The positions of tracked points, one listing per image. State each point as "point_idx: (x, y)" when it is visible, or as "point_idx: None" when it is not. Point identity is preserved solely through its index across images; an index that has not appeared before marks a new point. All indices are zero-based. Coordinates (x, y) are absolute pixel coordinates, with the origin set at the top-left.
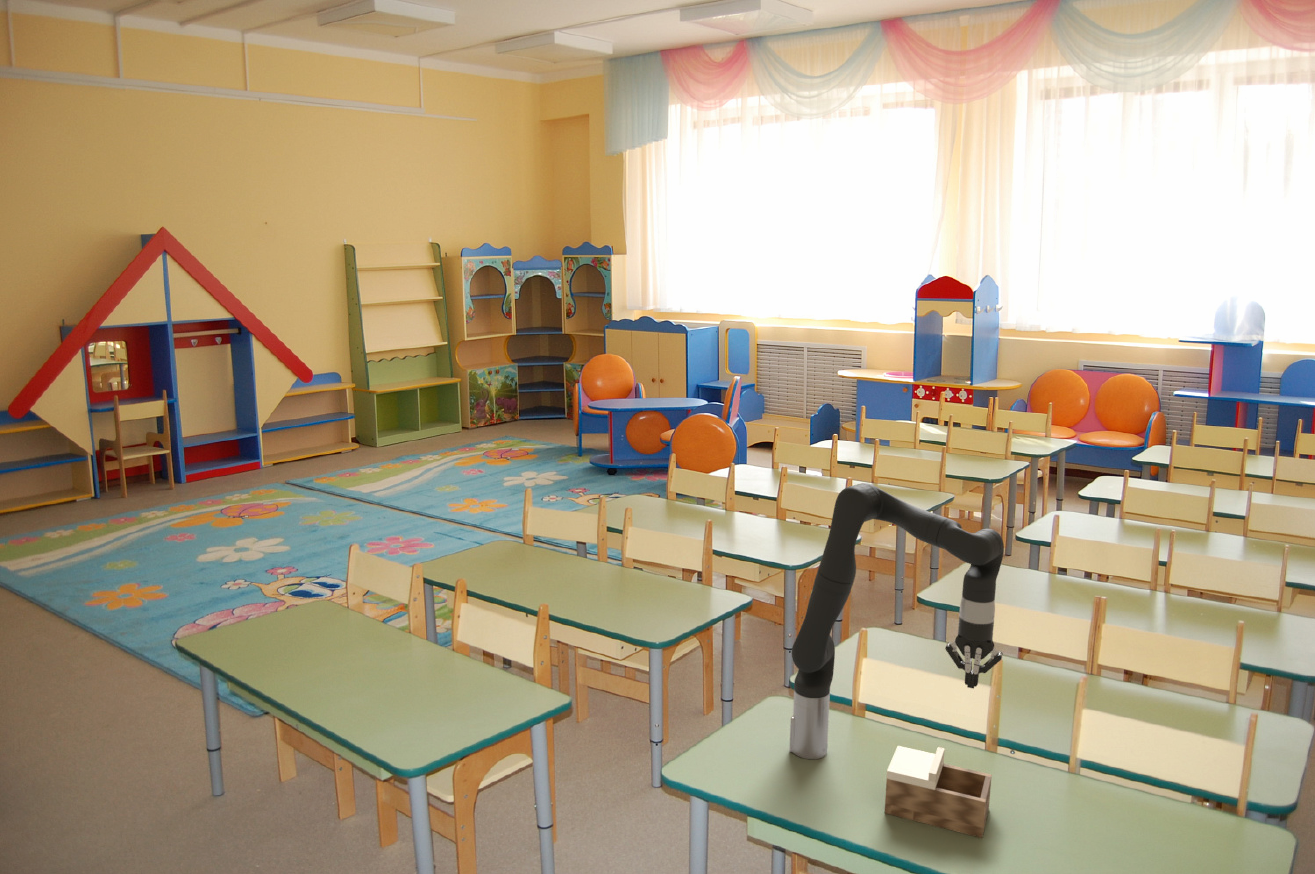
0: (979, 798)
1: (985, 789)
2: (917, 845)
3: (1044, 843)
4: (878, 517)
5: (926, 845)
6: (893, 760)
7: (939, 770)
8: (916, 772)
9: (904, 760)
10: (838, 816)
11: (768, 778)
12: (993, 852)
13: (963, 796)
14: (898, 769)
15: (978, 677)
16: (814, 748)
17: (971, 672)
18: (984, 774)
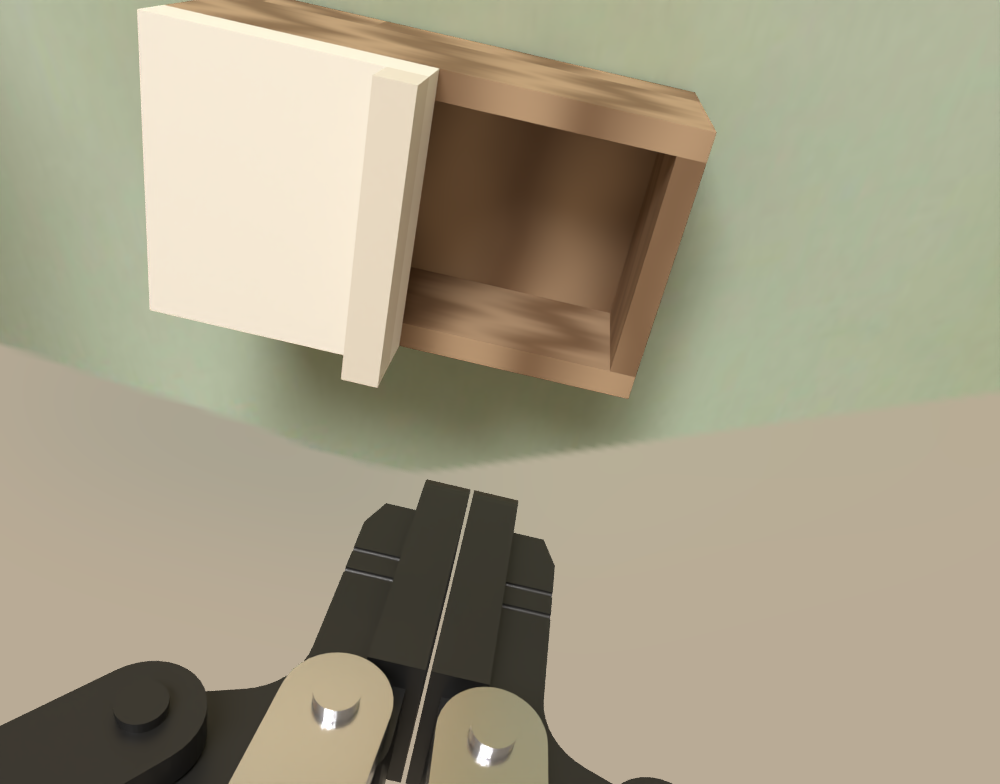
0: (605, 374)
1: (648, 294)
2: (388, 393)
3: (878, 299)
4: None
5: (418, 388)
6: (155, 201)
7: (406, 246)
8: (290, 298)
9: (211, 188)
10: (94, 281)
11: None
12: (653, 386)
13: (530, 372)
14: (199, 286)
15: (544, 648)
16: None
17: (401, 749)
18: (672, 141)
